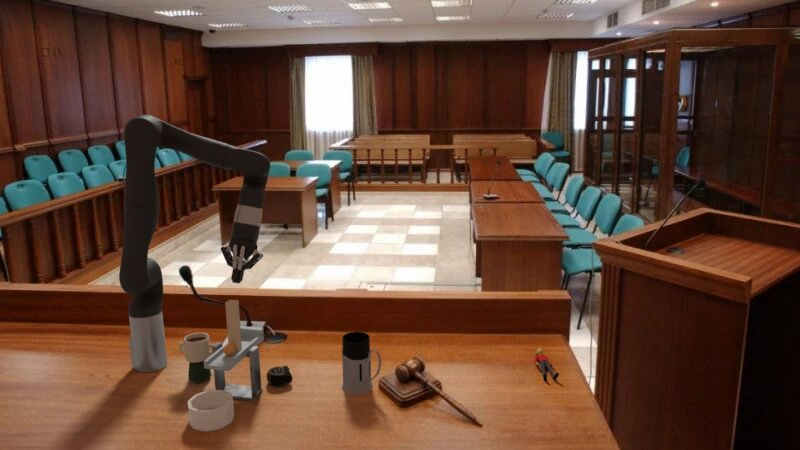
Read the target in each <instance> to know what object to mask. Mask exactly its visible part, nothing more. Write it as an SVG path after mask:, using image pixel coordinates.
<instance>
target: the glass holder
mask: <svg viewBox="0 0 800 450" xmlns="http://www.w3.org/2000/svg"><path fill="white" fill-rule="evenodd" d="M341 340H342V348H341V353H342V355H341V356H342V357H341V358H342V384H341V390H342V392H344V393H346V394H348V395H349V394H350V395H363V394H366V393H369V392H370V391H372V390H373V387H374V385H373V383H372V380H375V378H376V377H377V376H378V375H379V374H380V372H381V369H382V368H381V367H382V357H381V356H382V355H381V353H380V352H379V351H378V350H377V349H375V348H372V349H370V348H371V346H370V345H371V344H370V343H371V342H370V341H371V340H370V335H369V334H368V333H366V332H363V331H352V332H347V333H345V334H344V335H343V336H342V339H341ZM372 352H375V354H376V355H377V358H378V365H377V366H378V368H377V371H376V373H375V375H373V377H372V364H371V363H372V360H371V359H372Z"/></svg>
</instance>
